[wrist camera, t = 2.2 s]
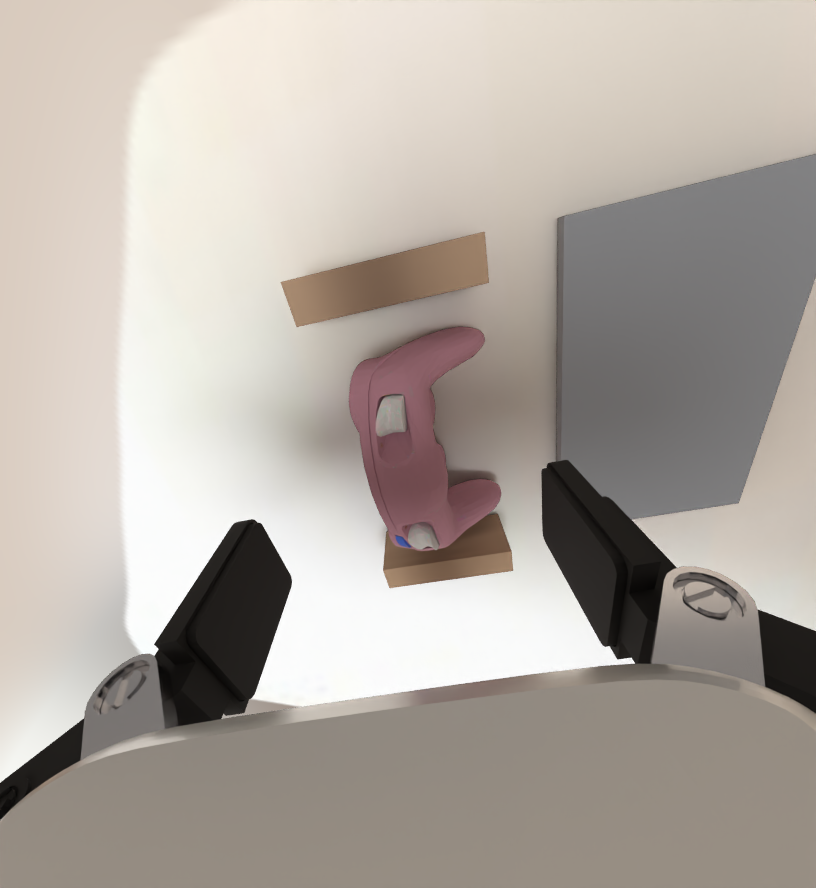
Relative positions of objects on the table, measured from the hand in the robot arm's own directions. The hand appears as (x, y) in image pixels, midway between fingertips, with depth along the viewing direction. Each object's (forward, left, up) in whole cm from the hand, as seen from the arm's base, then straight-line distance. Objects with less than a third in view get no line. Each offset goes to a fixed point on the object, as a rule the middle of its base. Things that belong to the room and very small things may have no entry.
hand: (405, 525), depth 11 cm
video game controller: (-1, 0, -8) cm, 8 cm away
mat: (-13, 0, -7) cm, 15 cm away
